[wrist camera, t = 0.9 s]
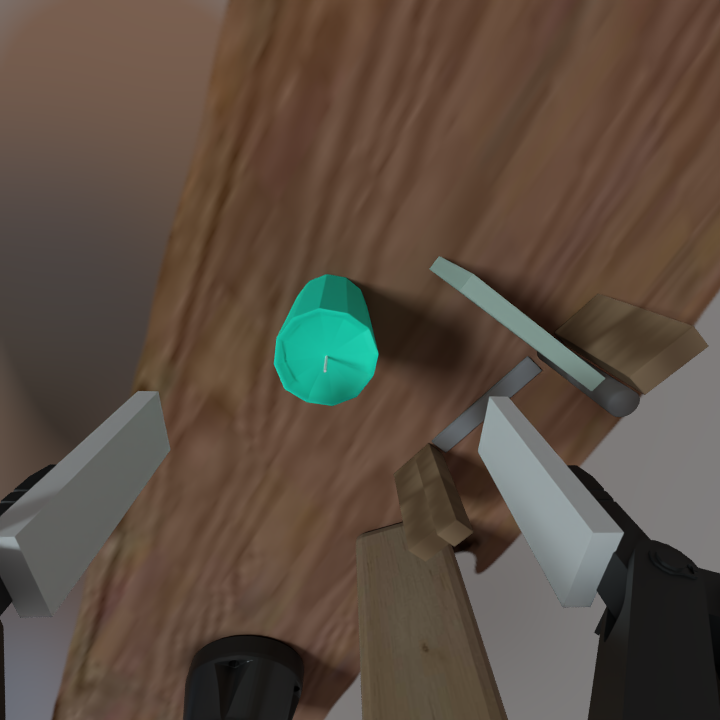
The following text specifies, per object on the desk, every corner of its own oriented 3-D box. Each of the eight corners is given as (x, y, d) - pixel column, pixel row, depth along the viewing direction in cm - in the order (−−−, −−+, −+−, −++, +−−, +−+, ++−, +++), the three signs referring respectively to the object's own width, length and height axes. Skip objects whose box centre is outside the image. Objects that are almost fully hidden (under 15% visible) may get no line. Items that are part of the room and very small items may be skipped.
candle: (324, 356, 32) (315, 437, 21) (280, 302, 30) (243, 360, 19) (381, 318, 30) (402, 381, 19) (338, 259, 28) (336, 292, 17)
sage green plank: (543, 337, 31) (605, 378, 24) (533, 348, 32) (591, 391, 24) (439, 256, 28) (473, 273, 21) (429, 269, 28) (459, 291, 21)
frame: (407, 483, 38) (427, 567, 29) (393, 473, 37) (409, 556, 28) (611, 308, 31) (716, 349, 22) (598, 293, 30) (701, 328, 22)
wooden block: (439, 507, 39) (523, 773, 21) (458, 566, 43) (544, 834, 25) (352, 532, 40) (360, 808, 22) (379, 588, 44) (405, 861, 26)
